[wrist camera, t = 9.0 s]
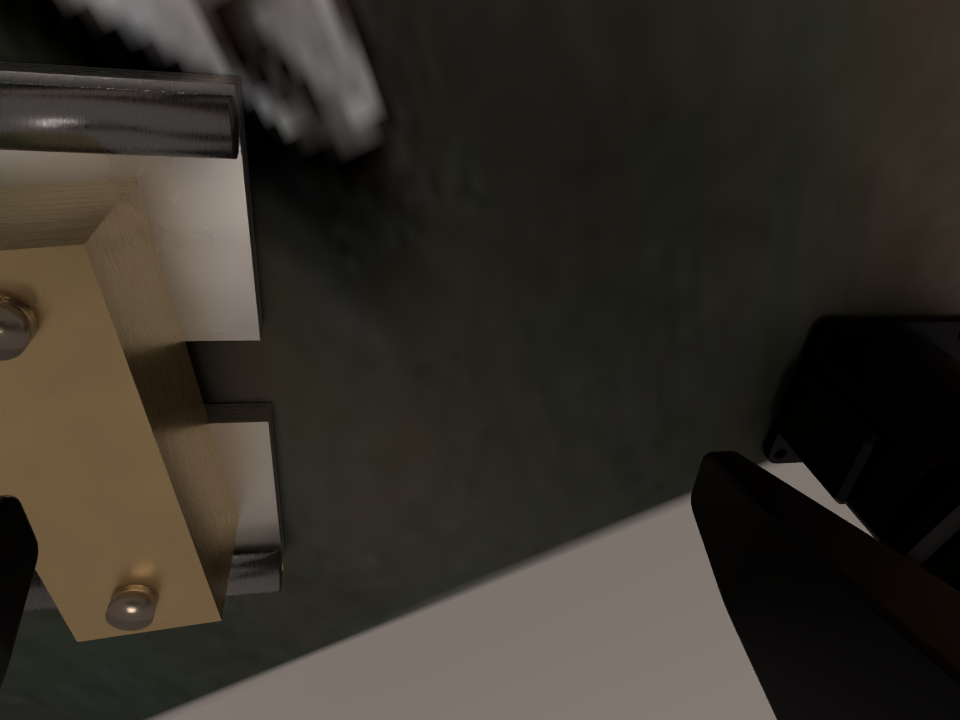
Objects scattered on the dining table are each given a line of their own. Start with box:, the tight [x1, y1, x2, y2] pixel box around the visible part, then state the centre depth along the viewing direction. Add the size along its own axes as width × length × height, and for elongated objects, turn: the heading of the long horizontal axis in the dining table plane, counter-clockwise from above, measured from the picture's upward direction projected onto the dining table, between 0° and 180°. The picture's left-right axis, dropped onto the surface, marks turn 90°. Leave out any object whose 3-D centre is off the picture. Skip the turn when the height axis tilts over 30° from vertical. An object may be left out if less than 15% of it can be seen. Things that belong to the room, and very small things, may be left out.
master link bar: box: [0, 178, 239, 642], centre depth 18 cm, size 4×12×5 cm, turn 1°
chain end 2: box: [24, 403, 285, 612], centre depth 22 cm, size 8×7×2 cm
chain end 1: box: [0, 61, 263, 341], centre depth 17 cm, size 8×7×2 cm
